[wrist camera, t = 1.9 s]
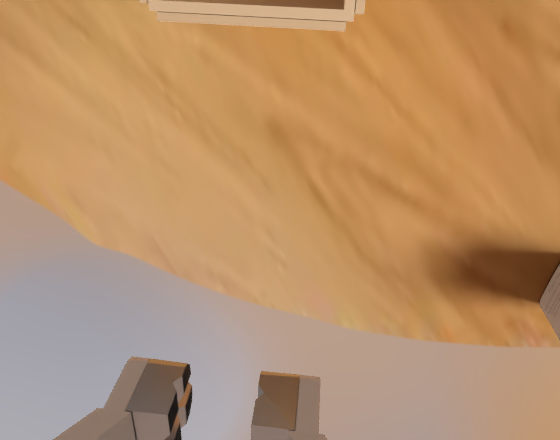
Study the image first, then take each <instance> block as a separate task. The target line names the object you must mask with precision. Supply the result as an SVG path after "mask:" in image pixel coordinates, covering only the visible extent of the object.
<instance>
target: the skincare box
mask: <svg viewBox="0 0 560 440" xmlns="http://www.w3.org/2000/svg"><path fill="white" fill-rule="evenodd" d="M540 307H541V309H542V310H543V312H544V314H545V315H546V317H547V319H548V321H549V322H550V324H551V326H552V328H553V329H554V331H555V333H556V334H557V336H558V338H559V340H560V265H559V266H558V268H557V270H556V271H555V273H554V275H553V276H552V278H551V280H550V282H549V284H548V286H547V288H546V289H545V291H544V293H543V295H542V297H541V300H540Z"/></svg>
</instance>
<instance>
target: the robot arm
mask: <svg viewBox="0 0 560 440" xmlns="http://www.w3.org/2000/svg"><path fill="white" fill-rule="evenodd" d="M190 375H191V371H190V364H186V363H179V362H172V361H164V360H157V359H148V358H139V357H131V358H130V359H129V360H128V361H127V363H126V365H125V367H124V369H123V371H122V373H121V375H120V377H119V379H118V381H117V382H116V385H115V386H114V389H113V390H112V392H111V394H110V396H109V398H108V400H107V402H106V404H105V406H104V408H103V409H101V408H97V409H96V410H94V411H93V412H91V413H90V414H88V415H87V416H86V417H84V418H83V419H81V420H80V421H79V422H77V423H76V424H74V425H73V426H72V427H70V428H69V429H67V430H66V431H64V432H63V433H62V434H60V435H59V436H57V437H56V438H55V439H53V440H181V439H182V438H181V428H182V427H183V426H184V425H185V424H186V423H187V421H188V417H189V414H190V409H191V403H192V385H191V384H190V383H189V382H188V381H189V378H190ZM299 376H300V379H299ZM298 390H299V391H298ZM319 402H320V377H314V376H304V375H296V374H286V373H276V372H265V371H262V372H261V374H260V380H259V387H258V398H257V399H256V401H255V407H254V413H253V419H252V425H251V440H327V438H326V437H325V435H322V434H318V431H319Z"/></svg>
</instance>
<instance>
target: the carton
mask: <svg viewBox="0 0 560 440" xmlns="http://www.w3.org/2000/svg"><path fill="white" fill-rule="evenodd" d="M140 3H148V4H149V11H158V12H156V13H157V21H165V22H184V23H202V24H220V25H239V26H257V27H276V28H294V29H312V30H331V31H345V29H346V21H349V22H353V20H354V12H355V14H364V9H365V0H140Z"/></svg>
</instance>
